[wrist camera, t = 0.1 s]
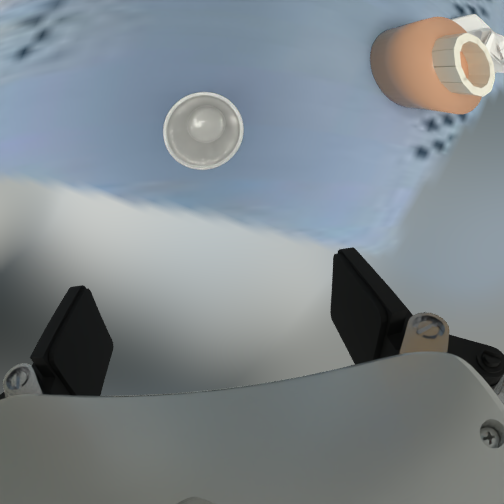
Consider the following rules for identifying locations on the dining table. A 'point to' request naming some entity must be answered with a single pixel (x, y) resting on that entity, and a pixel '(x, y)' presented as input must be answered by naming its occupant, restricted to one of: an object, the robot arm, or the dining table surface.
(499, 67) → the soft serve ice cream
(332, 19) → the dining table surface
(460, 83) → the orange jar
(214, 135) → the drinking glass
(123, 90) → the dining table surface
